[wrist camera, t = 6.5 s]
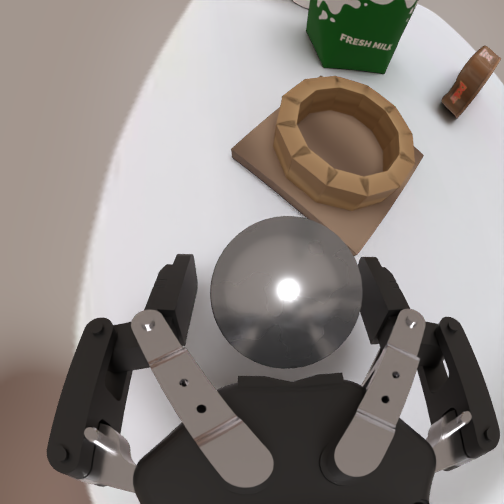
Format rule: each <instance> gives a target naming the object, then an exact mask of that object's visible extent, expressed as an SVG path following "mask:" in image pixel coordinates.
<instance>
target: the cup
mask: <svg viewBox="0 0 504 504" xmlns="http://www.w3.org/2000/svg"><path fill="white" fill-rule="evenodd" d="M293 1H294V2H295V3H297V4H298V5H300V6H303V7H305V8H308V9H309V3H310V0H293Z"/></svg>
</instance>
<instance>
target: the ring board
mask: <svg viewBox="0 0 504 504" xmlns="http://www.w3.org/2000/svg"><path fill="white" fill-rule="evenodd" d="M231 152H232V157H233V158H234V159H235V160H236V161H238V162H239V163H240V164H242V165H243V166H244V167H245V168H247V169H248V170H249V171H251V172H252V173H253V174H254V175H256V176H257V177H258V178H259V179H261V180H262V181H263V182H264V183H266V184H267V185H268V186H269V187H271V188H272V189H273V190H274V191H276V192H277V193H278V194H279V195H280V196H282V197H283V198H284V199H285V200H286V201H288V202H289V203H290V204H291V205H292V206H294V207H295V208H296V209H297V210H298V211H300V212H301V213H302V214H303V215H304V216H305V217H307V218H308V219H309V220H312V221H315V222H317V223H319V224H322V225H323V226H325V227H327V228H328V229H330V230H331V231H333V232H334V233H335V234H336V235H338V236H339V237H340V239H341V240H342V241H343V242H344V243H345V244H346V245H347V247H348V248H349V249H350V251H351V253H352V254H353V256H355V255H357V254H358V253H359V252H360V250H361V249H362V248H363V246H364V245H365V244H366V242H367V241H368V240H369V238H370V237H371V235H372V234H373V233H374V231H375V230H376V228H377V227H378V226H379V224H380V223H381V221H382V220H383V218H384V217H385V216H386V214H387V213H388V211H389V210H390V208H391V207H392V205H393V204H394V202H395V201H396V199H397V198H398V196H399V195H400V193H401V192H402V190H403V188H404V187H405V185H406V184H407V182H408V181H409V179H410V177H411V176H412V174H413V173H414V171H415V169H416V168H417V166H418V164H419V163H420V161H421V159H422V158H423V156H424V155H423V154H422V153H421V152H420V151H419V150H418V149H416V148H415V147H414V145H413V134H412V133H411V131H410V129H409V128H408V126H407V124H406V123H405V121H404V119H403V118H402V116H401V115H400V113H399V111H398V110H397V108H396V107H395V106H394V105H393V104H392V103H390V102H389V101H388V100H386V99H385V98H384V97H383V96H381V95H380V94H379V93H377V92H376V91H374V90H373V89H372V88H370V87H369V86H367V85H364V84H361V83H358V82H355V81H351V80H348V79H345V78H341V77H337V76H330V77H322V76H320V77H318V78H311V79H304V80H303V81H302V82H300V83H299V84H298V85H296V86H295V87H294V88H292V89H291V90H290V91H288V92H287V93H286V94H285V95H283V96H282V101H281V105H280V107H279V108H278V109H277V110H276V111H274V112H273V113H272V114H271V115H270V116H268V117H267V118H266V119H265V120H264V121H263V122H261V123H260V124H259V125H258V126H257V127H255V128H254V129H253V130H252V131H251V132H250V133H249V134H247V135H246V136H245V137H244V138H243V139H242V140H241V141H240V142H238V143H237V144H236V145H235V146H234V147H233V148H232V149H231Z"/></svg>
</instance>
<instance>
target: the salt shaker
mask: <svg viewBox="0 0 504 504" xmlns="http://www.w3.org/2000/svg"><path fill="white" fill-rule="evenodd" d="M210 298H211V306H212V310H213V314H214V318H215V320H216V323H217V325H218V327H219V329H220V331H221V332H222V334H223V336H224V337H225V338H226V339H227V341H228V342H229V343H230V344H231V345H232V346H233V347H234V348H235V349H236V350H237V351H238V352H240V353H241V354H242V355H244V356H245V357H247V358H249V359H251V360H253V361H254V362H257V363H260V364H262V365H265V366H269V367H274V368H298V367H304V366H307V365H310V364H313V363H315V362H318V361H320V360H322V359H324V358H325V357H327V356H328V355H330V354H331V353H333V352H334V351H335V350H336V349H337V348H339V346H340V345H341V344H342V343H343V342H344V341H345V340H346V339H347V337H348V336H349V334H350V333H351V331H352V329H353V328H354V326H355V324H356V321H357V319H358V316H359V312H360V308H361V303H362V281H361V275H360V271H359V268H358V265H357V263H356V260H355V258H354V256H353V254H352V253H351V251H350V249H349V248H348V247H347V245H346V244H345V243H344V242H343V241H342V240H341V239H340V237H339V236H338V235H336V234H335V233H334V232H333V231H331V230H330V229H328V228H327V227H325V226H323V225H322V224H319V223H317V222H315V221H312V220H309V219H306V218H301V217H294V216H281V217H273V218H269V219H265V220H262V221H260V222H257V223H255V224H253V225H251V226H249V227H248V228H246V229H245V230H243V231H242V232H240V233H239V234H238V235H237V236H236V237H235V238H234V239H233V240H232V241H231V242H230V243H229V244H228V245H227V247H226V248H225V249H224V251H223V252H222V254H221V256H220V257H219V259H218V261H217V264H216V266H215V269H214V272H213V275H212V281H211V292H210Z"/></svg>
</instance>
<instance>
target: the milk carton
mask: <svg viewBox="0 0 504 504" xmlns="http://www.w3.org/2000/svg"><path fill="white" fill-rule="evenodd" d="M418 1H419V0H310V3H309V11H308V19H307V27H306V32H307V34H308V36H309V38H310V40H311V42H312V44H313V46H314V48H315V50H316V52H317V55H318V57H319V59H320V61H321V63H322V66H323V67H324V68H339V69H350V70H359V71H368V72H375V73H381V74H385V71H386V69H387V67H388V65H389V63H390V60H391V58H392V56H393V54H394V52H395V49H396V47H397V45H398V42H399V40H400V38H401V36H402V34H403V32H404V30H405V28H406V26H407V24H408V22H409V20H410V18H411V15H412V13H413V11H414V9H415V7H416V5H417V3H418Z"/></svg>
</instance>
